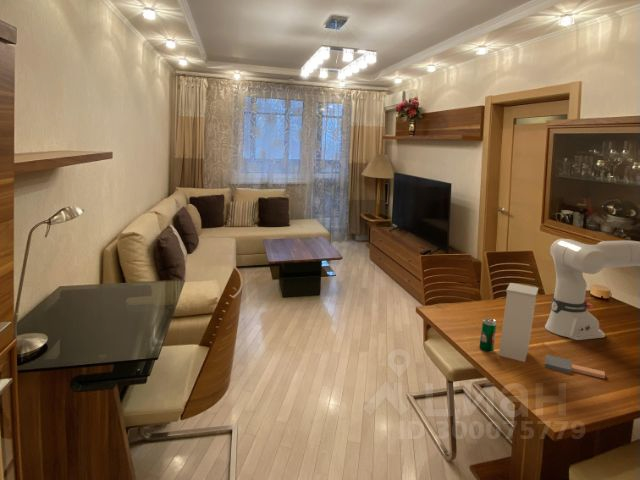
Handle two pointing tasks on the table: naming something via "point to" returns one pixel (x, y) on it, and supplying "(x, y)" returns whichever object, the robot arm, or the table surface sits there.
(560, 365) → the toy hammer
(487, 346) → the soda can
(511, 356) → the tall grey box
